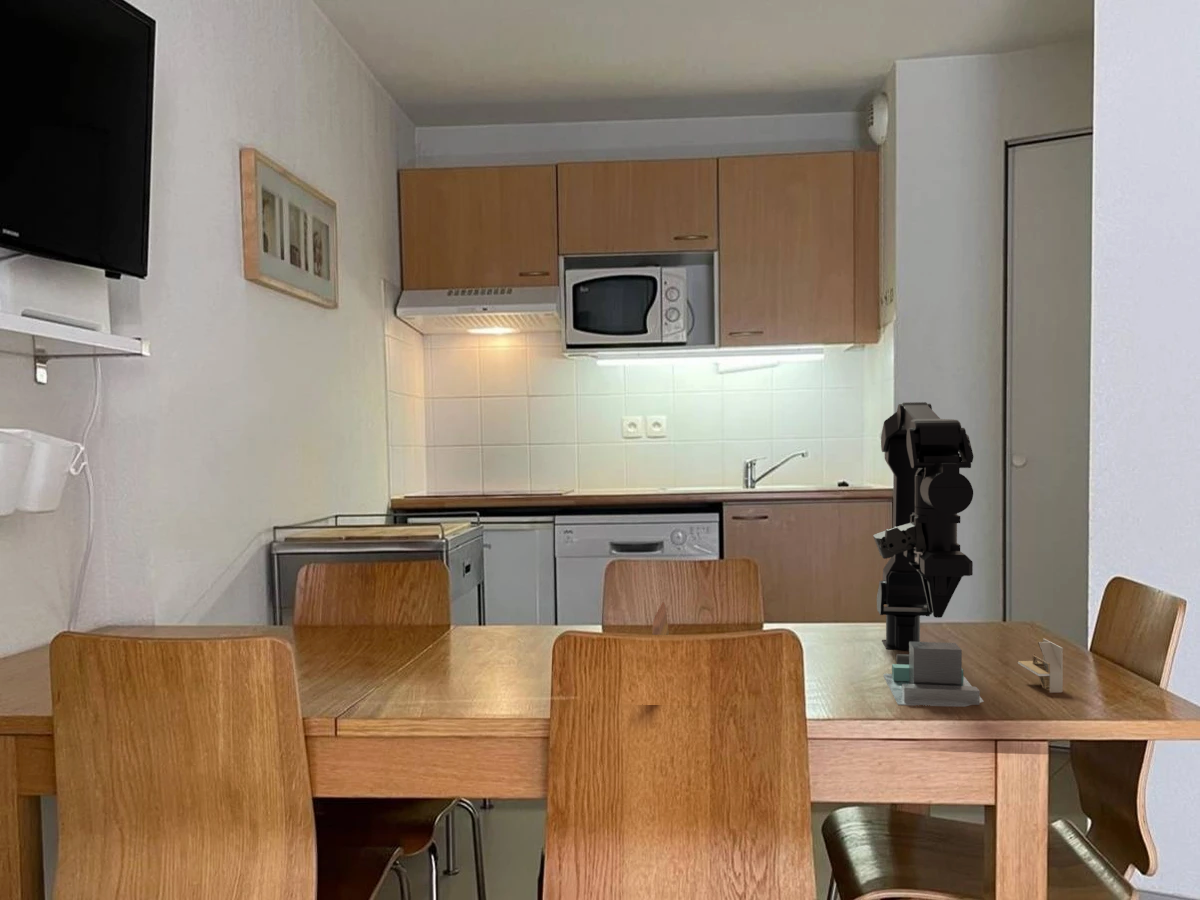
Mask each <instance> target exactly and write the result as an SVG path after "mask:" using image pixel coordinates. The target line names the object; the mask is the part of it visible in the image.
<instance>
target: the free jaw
mask: <svg viewBox="0 0 1200 900" xmlns="http://www.w3.org/2000/svg"><path fill="white" fill-rule="evenodd" d="M895 659H896V660H895V661H896V663H892V664H891V674H892V678H893V680H894V681H909V654H904V653H903V654H902V653H900V654H899V653H896V658H895ZM963 677H964V669H963V668H962V683H963Z"/></svg>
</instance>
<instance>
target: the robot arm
mask: <svg viewBox="0 0 1200 900" xmlns="http://www.w3.org/2000/svg"><path fill="white" fill-rule="evenodd" d="M882 424H883V426H882V430H881V436H880V448H881V452H882V453H884V461H885V462H886V464H887V465H888V467H889V469H890V471H891V472H892V474H893V493H892V494H893V495H892V496H893V498H892V501H893V502H892V503H893V506H892V507H893V508H892V509H893V510H892V528H890V529H888V528H886V529H885V530H884V531H880V532H878V533H875V534H873V535H872V536H873V540H874V542H875V544H876V547H877V551H878V552H879V556H881V558H882V559H883V560H885V559H889V560H888V562H887V563H886V564H885V566H884V567H883V568H882V569H883V570H882V580H879V582H878V587H877V588H878V589H877V594H876V610H877V613H878V614H879V615H880V616H884V615H885V639H882V640H881V642H882V644H883V646H884V648H885V649H886V650H889V651H909V641H910V642H921V617H922V616H923V617H924V616H925V617H930V616H931V615H933V617H934V618H938V619H939V618H940V619H941V618H943V616H944V614H945V612H946V609H948V608H947V607H948V605H949V604H950V602H951V600H952V597H953V595H954V594H955V591H956V590H957V588H958V586H959V584H960V582H961V580H962V578H963V577H966V576H967V577H970V576H973V575H974V574H973V570H974V569H973V568H974V567H973V560H972V559H971V558H970V557H968V556H967V555H966V554H965V553H964V552H962V551H961V544H959V543H958V524H961V515H959V513H961V512H964V511H965V510H966V509H967V508H969V506H970V505H971V503H972V501H973V497H974V489H973V486H972V483H971V482H970V480H969V479H968V477H966V476H965V475H964V474H961V472H960V469H971V468H972V463H973V461H974V453H973V448H972V444H971V441H970V436H969V435H968V434H967V431H966V429H965V427H962V425H961V422H960V421H959V420H958V419H951V418H940V417H939V416H938V415H937V413H936V412H934V411H933V407H932V403H927V402H926V401H924V402H923V401H922V402H921V401H920V402H919V401H917V402H916V401H915V402H914V401H913V402H912V401H911V402H902V403H898V405H897V410H896V412H895V413H893V414H892V415H890V416H889V417H888V418H886V419H885V420H884V421H883V423H882ZM885 605H886V606H885Z"/></svg>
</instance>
